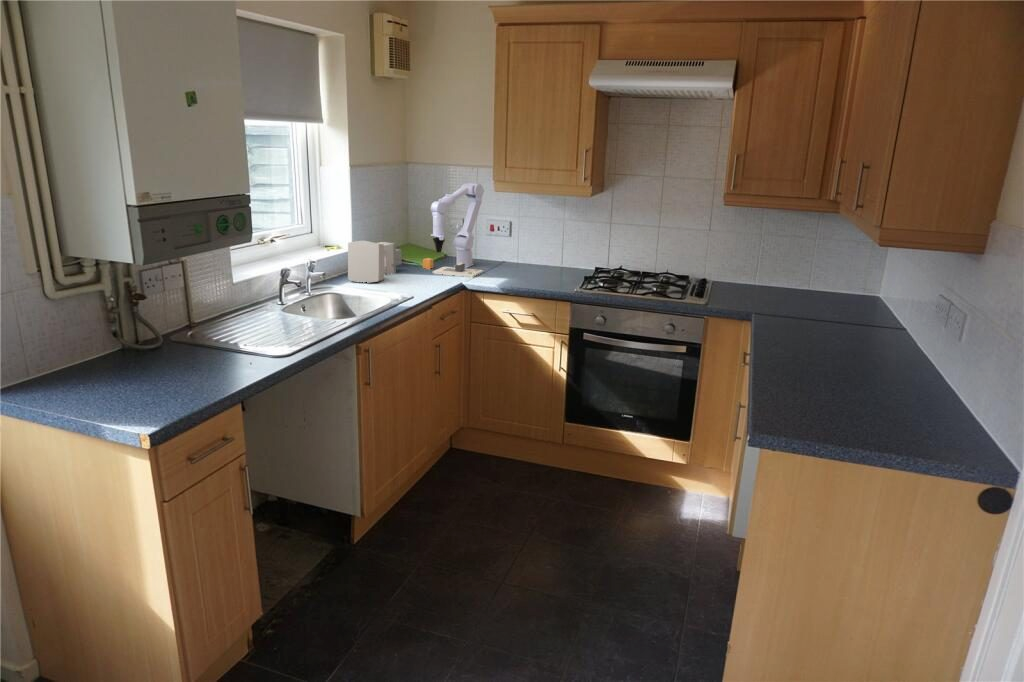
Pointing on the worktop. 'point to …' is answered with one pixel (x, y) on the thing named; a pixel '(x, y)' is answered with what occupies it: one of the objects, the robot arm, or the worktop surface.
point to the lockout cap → (427, 263)
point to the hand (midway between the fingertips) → (438, 252)
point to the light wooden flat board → (457, 272)
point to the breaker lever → (459, 267)
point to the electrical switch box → (365, 261)
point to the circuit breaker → (391, 257)
